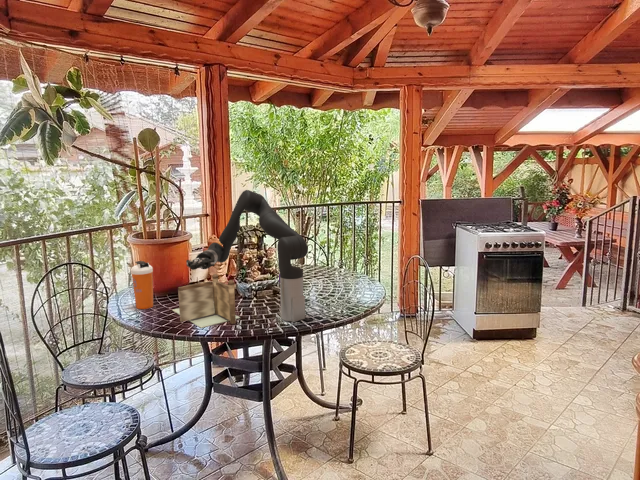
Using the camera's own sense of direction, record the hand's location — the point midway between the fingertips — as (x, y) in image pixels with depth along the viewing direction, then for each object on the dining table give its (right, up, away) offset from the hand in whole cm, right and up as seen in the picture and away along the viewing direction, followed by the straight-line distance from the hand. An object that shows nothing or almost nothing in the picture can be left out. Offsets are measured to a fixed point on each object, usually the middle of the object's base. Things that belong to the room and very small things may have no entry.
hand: (193, 267), depth 183 cm
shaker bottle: (-25, -18, +13) cm, 34 cm away
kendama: (+35, -13, +43) cm, 57 cm away
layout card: (+4, -20, +3) cm, 20 cm away
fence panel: (+3, -20, -4) cm, 20 cm away
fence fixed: (+14, -21, -3) cm, 25 cm away
